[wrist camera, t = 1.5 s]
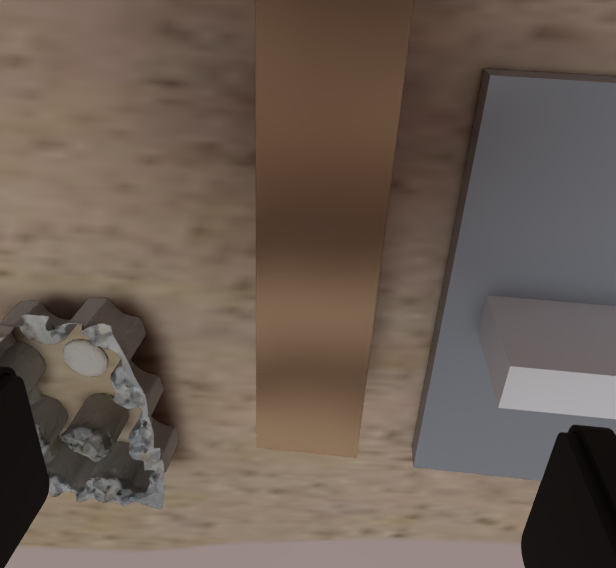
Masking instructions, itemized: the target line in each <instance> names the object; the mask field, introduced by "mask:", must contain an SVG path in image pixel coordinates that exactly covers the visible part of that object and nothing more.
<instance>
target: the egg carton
mask: <svg viewBox="0 0 616 568" xmlns="http://www.w3.org/2000/svg"><path fill="white" fill-rule="evenodd" d="M77 324H79V325H82V332H81V333H83V334H85V335H86V336H88V337H89V339H90V341H89V340H86V339H75V340H72V341H71V342H69V343H67V344H66V345H65V348H64V350H63V355H64V360H65V361H66V364H67V365H68V366H69V367H70V368H71V369H73V370H74V371H75V372H77V373H79V374H81V375H83V376H87V377H95V376H99V375H101V374H103V373H105V371H106V369H107V368H108V357H107V355H106V353H105V352H104V351H103V349H102V348H101V347H103V348H105V349H109V350H113V351H114V352H116V353H117V354H118V355H119V356H120V357H121V360H120V361H119V363H118V365H117V366H116V368H115V369H114V371H113V372H112V374H111V382H112V385H113V387H114V390H115V397H113V396H111V395H109V394H103V393H99V394H94V395H91V396H89V397H88V398H87V400H86V401H85V403H84V404H83V406H82V407H81V409H80V410H79V412H78V413H77V415H76V416H75V418H74V419H73V421H72V422H71V424H70V425H69V427H68V428H67V430H66V431H65V432H63V433H62V434H61V440H63V441H64V442H62V441H61V440H60V438H59V437H58V434H59V433H60V431H61V430H62V428H63V426H64V425H65V423H66V422H67V420H68V415H67V411H66V409H65V408H64V407H63V405H62V404H61V403H60V402H58V401H57V400H55V399H53V398H51V397H48V396H45V395H42V394H41V392H40V390H39V389H38V387H37V386H36V383H37V382H38V380H39V379H40V377H41V376H42V374H43V373H44V370H45V366H46V365H45V361H44V359H43V357H42V356H41V355H40V353H39V352H38V351H37V350H36V349H34V348H33V347H32V346H29V345H27V344H25V343H22V342H17V341H16V340H15V338H14V336H13V335H12V333H11V331H12V330H13V329H14V328H15V327H19V328H20V330H21V332H22V333H23V334H24V335H25V336H26V337H28V338H29V339H31V340H35V341H37V342H40V343H43V344H47V345H54V344H57V343H59V342H61V341H63V340H65V339H66V338H67V336H68V335H69V334H70V333H71V331H72V330H73V329H74V328H75V326H76V325H77ZM145 335H146V334H145V328H144V325H143V322H142V320H141V319H140V318H139V317H136V316H129V315H127V314H124V313H122V312H121V311H119V310H118V309H117V308H116V307H115V306H114V305H113V304H112V302H111V301H110V300H109V299H107V298H95V297H91V298H88V299H87V300H86V301H85V303H84V304H83V306H82V307H81V308H80V309H79V310H78V311H77V312H76V314H75V315H74V317H73V318H72V319H71V320H66V319H61V318H58V317H56V316H54V315H53V314H51V313H50V312H49V311H48V310H47V309H46V308H45V307H44V306H43V304H42V303H41V302H40V301H21V302H20V303H19V304H18V305H17V306H16V307H15V308H14V309H13V310H12V311H11V312H10V313H9V314H8V315H7V316H6V317H5V318H4V319H3V321H2V322H1V323H0V366H4V367H10V368H12V369H13V370H14V371H15V373H16V375H17V376H19V377H21V378H22V379H23V381H24V384H25V388H26V391H27V395H28V399H29V403H30V407H31V411H32V415H33V418H34V422H35V426H36V430H37V434H38V438H39V442H40V446H41V449H42V453H43V457H44V461H45V465H46V469H47V473H48V476H49V482H50V486H49V492H50V496H51V497H56V496H58V495H60V494H61V493H63V492H74V493H76V502H83V501H85V500H88V499H90V498H95V499H96V500H98V501H99V502H101V501H102V502H103V503H106V502H115V503H118V504H121V505H122V506H126V505H127V504H129V503H132V502H134V501H135V502H138V503H141V504H144V505H147V506H149V507H152V508H156V509H159V510H162V508H163V501H164V473H165V472H166V470H167V468H168V466H169V464H170V461H171V458H172V456H173V454H174V452H175V449H176V447H177V443H178V441H179V438H178V435H177V431H176V429H175V428H174V427H172V426H167V425H164V424H162V423H159V422H158V421H156V420H155V419H153V418H152V416H151V415H152V413H153V411H154V409H155V407H156V404H157V403H158V401H159V398H160V396H161V395H162V393H163V386H162V383H161V380H160V378H159V376H158V375H154V374H150V373H147V372H144V371H143V370H141V369H139V368H138V367H137V366H135V364H134V363H133V362H132V360H131V358H132V356H133V355H134V353H135V351H136V350H137V348H138V347H139V345H140V344H141V342H142V340H143V339H144V337H145ZM99 346H101V347H99ZM136 407H139V408H141V409H142V413H141V414H140V417H139V419H138V421H137V423H136V425H135V427H134V428H133V429H132V431H131V432H130V434H129V441H130V443H126V442H119V441H118V442H116V441H117V439H118V437H119V435H120V433H121V431H122V429H123V427H124V425H125V423H126V421H127V419H128V415H129V414H128V410H127V409H132V408H136Z"/></svg>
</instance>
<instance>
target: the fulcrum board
mask: <svg viewBox="0 0 616 568" xmlns="http://www.w3.org/2000/svg"><path fill="white" fill-rule="evenodd" d="M572 425H584V426H594V427H604V428H610V429H611V430H613V431H614V433H615V434H616V77H615V76H599V75H582V74H566V73H550V72H533V71H517V70H500V69H484V72H483V77H482V82H481V87H480V93H479V98H478V103H477V109H476V114H475V119H474V124H473V130H472V135H471V140H470V145H469V151H468V156H467V161H466V166H465V172H464V177H463V182H462V187H461V193H460V198H459V203H458V208H457V214H456V219H455V224H454V229H453V235H452V240H451V245H450V250H449V256H448V261H447V266H446V272H445V277H444V282H443V287H442V293H441V298H440V303H439V308H438V314H437V319H436V324H435V329H434V335H433V340H432V345H431V350H430V356H429V361H428V366H427V371H426V377H425V382H424V387H423V392H422V398H421V403H420V408H419V414H418V419H417V424H416V429H415V435H414V440H413V445H412V457H413V467H416V468H425V469H435V470H444V471H454V472H463V473H473V474H482V475H492V476H501V477H510V478H520V479H529V480H539V481H542V478H543V475H544V472H545V469H546V466H547V464H548V461H549V458H550V455H551V452H552V449H553V447H554V444H555V441H556V438H557V436H558V434H559V433H560V432H566V433H567V432H568V430H569V428H570V427H571V426H572Z"/></svg>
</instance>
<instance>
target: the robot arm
mask: <svg viewBox="0 0 616 568" xmlns="http://www.w3.org/2000/svg"><path fill="white" fill-rule="evenodd" d="M49 486H50V482H49V476H48V473H47V469H46V465H45V461H44V457H43V453H42V449H41V446H40V442H39V438H38V434H37V430H36V426H35V422H34V418H33V415H32V411H31V407H30V403H29V399H28V395H27V391H26V388H25V384H24V381H23V379H22V378H21V377H19V376H17V375H16V373H15V371H14V370H13V369H12V368H10V367H4V366H0V568H4V567H5V565H6V564H7V562H8V561H9V559H10V557H11V556H12V554H13V552H14V551H15V549H16V548H17V546H18V544H19V543H20V541H21V539H22V538H23V536H24V535H25V533H26V531H27V530H28V528H29V526H30V525H31V523H32V522H33V520H34V518H35V517H36V515H37V513H38V512H39V510H40V509H41V507H42V505H43V504H44V502H45V500H46V498H47V495H48V492H49ZM521 550H522V557H523V562H524V566H525V568H616V434H615V433H614V431H613V430H611V429H610V428H604V427H594V426H584V425H572V426H571V427H570V428H569V430H568V432H567V433H566V432H560V433H559V434H558V436H557V438H556V441H555V444H554V447H553V449H552V452H551V455H550V458H549V461H548V464H547V466H546V469H545V472H544V475H543V478H542V481H541V483H540V486H539V489H538V492H537V495H536V498H535V500H534V503H533V506H532V509H531V512H530V515H529V517H528V520H527V523H526V526H525V529H524V532H523V535H522V541H521Z"/></svg>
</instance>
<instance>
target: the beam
mask: <svg viewBox="0 0 616 568" xmlns="http://www.w3.org/2000/svg"><path fill="white" fill-rule="evenodd" d="M413 5H414V0H255V74H256V422H257V448H266V449H276V450H286V451H295V452H305V453H314V454H324V455H334V456H343V457H353V458H357V451H358V443H359V435H360V427H361V419H362V411H363V403H364V395H365V387H366V379H367V371H368V363H369V355H370V347H371V339H372V331H373V323H374V316H375V308H376V300H377V292H378V284H379V276H380V268H381V260H382V252H383V244H384V236H385V228H386V220H387V212H388V204H389V196H390V188H391V180H392V172H393V164H394V156H395V148H396V140H397V132H398V124H399V116H400V108H401V100H402V93H403V85H404V77H405V69H406V61H407V53H408V45H409V37H410V29H411V21H412V13H413Z"/></svg>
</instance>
